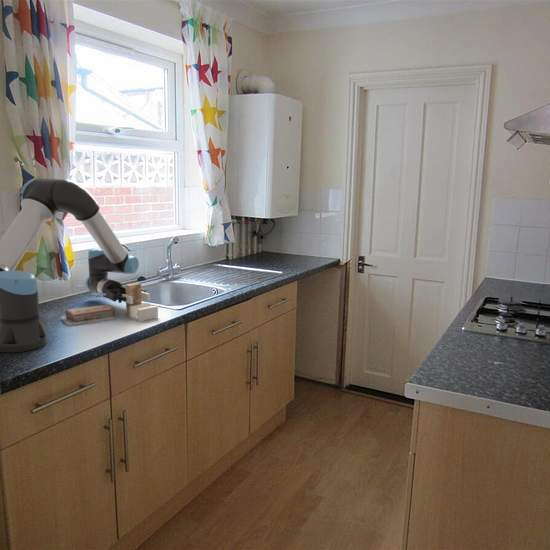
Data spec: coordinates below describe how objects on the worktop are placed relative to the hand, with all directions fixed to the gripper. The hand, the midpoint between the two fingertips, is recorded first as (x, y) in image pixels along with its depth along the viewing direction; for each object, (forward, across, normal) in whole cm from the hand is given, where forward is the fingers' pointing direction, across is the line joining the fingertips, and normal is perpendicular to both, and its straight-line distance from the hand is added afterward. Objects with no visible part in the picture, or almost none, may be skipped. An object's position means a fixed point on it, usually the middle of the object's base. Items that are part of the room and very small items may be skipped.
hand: (140, 298), depth 201 cm
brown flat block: (-10, +16, -8) cm, 20 cm away
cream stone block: (+2, 0, -7) cm, 7 cm away
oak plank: (-5, 0, -7) cm, 9 cm away
